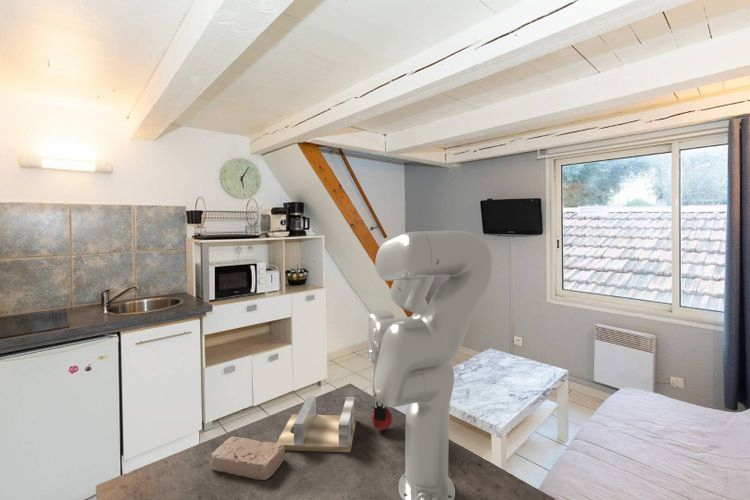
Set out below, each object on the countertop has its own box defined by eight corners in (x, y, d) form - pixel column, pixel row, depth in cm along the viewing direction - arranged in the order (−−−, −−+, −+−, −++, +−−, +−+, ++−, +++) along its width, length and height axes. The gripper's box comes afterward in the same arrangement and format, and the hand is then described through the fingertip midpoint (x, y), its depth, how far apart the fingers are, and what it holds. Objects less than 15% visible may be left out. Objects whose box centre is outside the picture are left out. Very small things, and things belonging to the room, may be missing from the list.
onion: (395, 428, 104) (395, 402, 103) (385, 438, 99) (385, 411, 98) (378, 422, 107) (378, 397, 106) (368, 431, 102) (368, 405, 101)
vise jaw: (303, 445, 94) (302, 423, 93) (288, 444, 94) (288, 423, 93) (316, 414, 109) (315, 396, 108) (303, 414, 109) (303, 395, 108)
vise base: (350, 452, 93) (349, 425, 92) (275, 449, 94) (275, 423, 94) (356, 420, 108) (356, 397, 107) (292, 418, 109) (291, 395, 109)
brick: (208, 471, 87) (208, 453, 86) (231, 449, 95) (230, 433, 94) (268, 484, 82) (267, 465, 82) (286, 460, 90) (285, 443, 90)
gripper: (394, 368, 93) (393, 428, 95) (394, 343, 110) (393, 395, 112) (365, 367, 93) (365, 427, 95) (370, 342, 110) (370, 394, 112)
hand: (380, 410), depth 103 cm, fingers open, 9 cm apart
